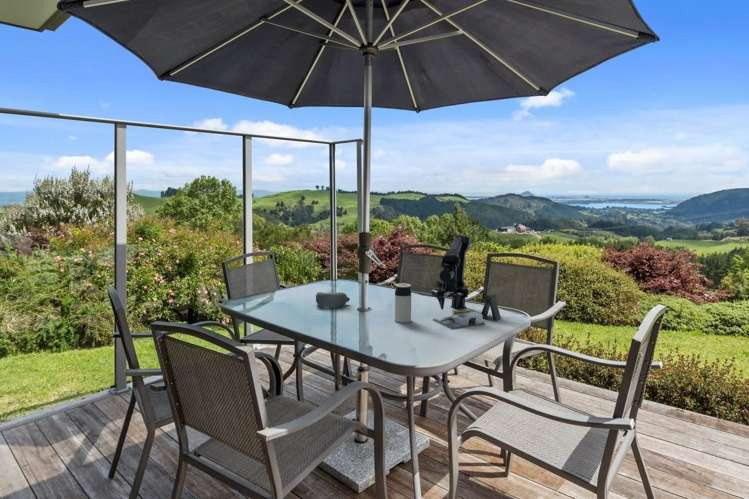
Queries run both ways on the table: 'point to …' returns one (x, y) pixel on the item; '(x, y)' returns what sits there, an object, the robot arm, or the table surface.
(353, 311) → the table surface
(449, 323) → the frame
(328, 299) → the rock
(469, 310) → the plate
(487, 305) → the phone stand
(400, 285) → the travel mug
